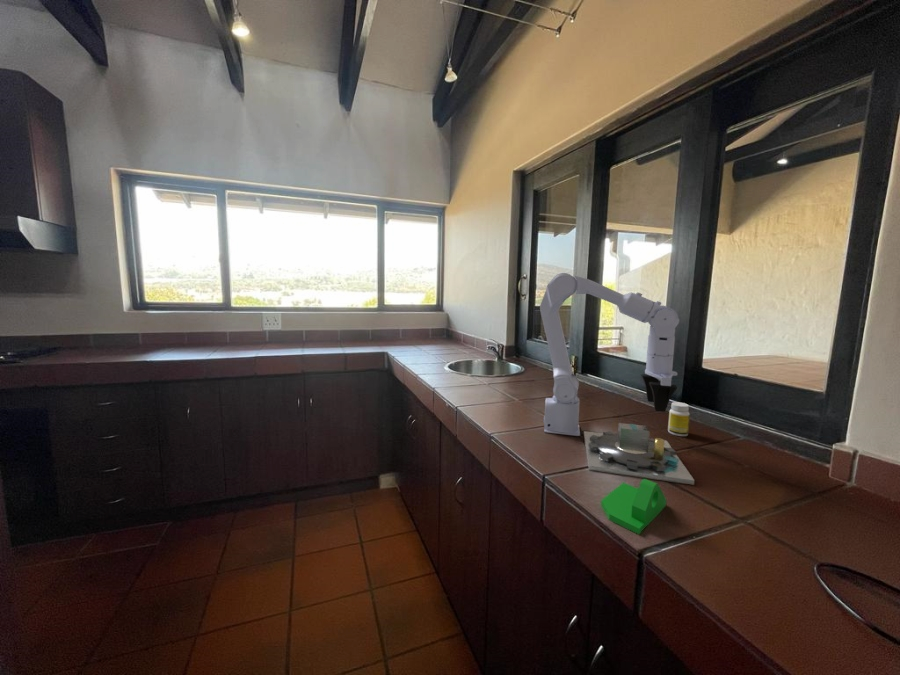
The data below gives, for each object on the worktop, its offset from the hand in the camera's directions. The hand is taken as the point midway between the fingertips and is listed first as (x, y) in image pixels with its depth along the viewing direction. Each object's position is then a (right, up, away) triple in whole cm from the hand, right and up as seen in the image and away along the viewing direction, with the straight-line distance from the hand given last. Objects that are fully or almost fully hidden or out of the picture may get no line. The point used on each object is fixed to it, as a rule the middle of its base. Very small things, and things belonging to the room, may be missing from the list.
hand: (656, 406), depth 89 cm
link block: (-10, -9, -6) cm, 14 cm away
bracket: (-20, -14, -26) cm, 36 cm away
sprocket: (-10, -10, -6) cm, 15 cm away
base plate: (-10, -11, -6) cm, 16 cm away
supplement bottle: (+10, -9, +7) cm, 16 cm away
